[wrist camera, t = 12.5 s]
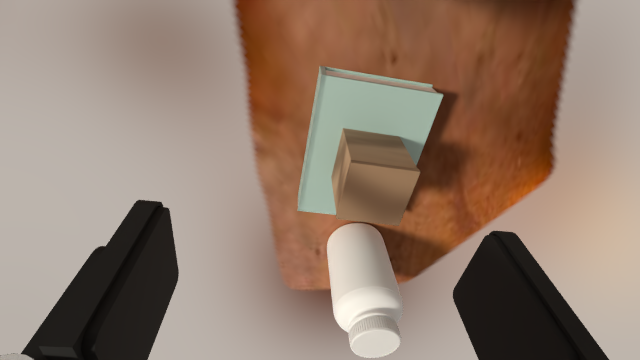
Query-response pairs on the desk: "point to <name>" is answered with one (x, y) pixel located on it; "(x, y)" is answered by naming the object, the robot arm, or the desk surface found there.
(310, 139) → the book
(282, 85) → the desk surface
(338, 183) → the walnut block
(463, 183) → the desk surface
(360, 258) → the pill bottle
